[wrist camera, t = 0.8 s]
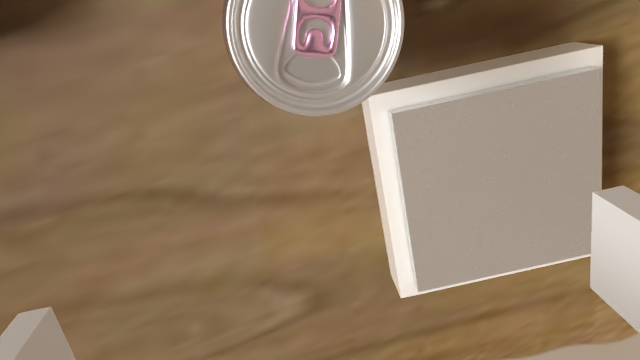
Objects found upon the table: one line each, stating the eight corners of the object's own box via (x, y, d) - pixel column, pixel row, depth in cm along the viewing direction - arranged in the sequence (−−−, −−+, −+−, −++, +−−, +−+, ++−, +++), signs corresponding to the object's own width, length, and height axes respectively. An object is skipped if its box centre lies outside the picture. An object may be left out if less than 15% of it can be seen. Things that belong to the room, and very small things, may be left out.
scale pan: (387, 110, 28) (391, 113, 27) (587, 66, 28) (598, 68, 27) (414, 284, 32) (418, 292, 32) (588, 245, 33) (597, 252, 32)
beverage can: (350, -33, 28) (425, -68, 14) (340, 71, 30) (397, 128, 16) (247, -44, 28) (220, -92, 14) (243, 63, 30) (216, 116, 16)
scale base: (359, 88, 31) (367, 96, 28) (576, 41, 31) (606, 44, 28) (391, 275, 36) (401, 298, 33) (578, 233, 36) (604, 252, 33)
